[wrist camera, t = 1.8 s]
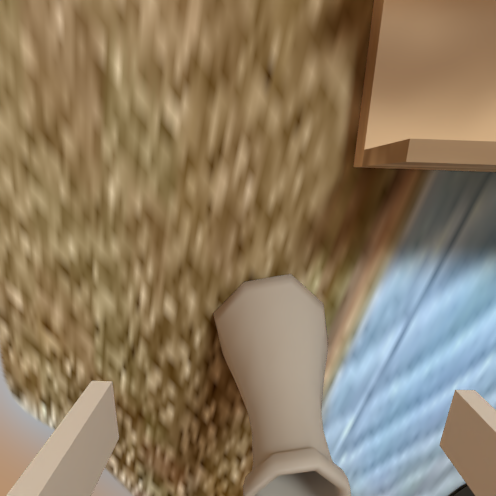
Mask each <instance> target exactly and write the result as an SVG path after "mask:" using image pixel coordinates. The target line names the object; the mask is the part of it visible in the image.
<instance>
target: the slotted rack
mask: <svg viewBox="0 0 496 496" xmlns="http://www.w3.org/2000/svg"><path fill="white" fill-rule="evenodd" d="M353 167H361V168H390V169H420V170H449V171H478V172H496V0H374V5H373V13H372V21H371V29H370V37H369V45H368V53H367V62H366V70H365V78H364V86H363V94H362V102H361V110H360V118H359V126H358V134H357V142H356V150H355V158H354V166H353Z"/></svg>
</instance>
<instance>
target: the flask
mask: <svg viewBox="0 0 496 496" xmlns="http://www.w3.org/2000/svg"><path fill="white" fill-rule="evenodd" d="M213 315H214V319H215V323H216V328H217V332H218V336H219V340H220V345H221V349H222V353H223V355H224V358H225V360H226V362H227V365H228V367H229V369H230V371H231V373H232V375H233V377H234V380H235V382H236V384H237V387H238V389H239V392H240V394H241V397H242V399H243V402H244V404H245V407H246V409H247V412H248V414H249V419H250V424H251V429H252V444H253V468H252V471H251V472H250V473H249V474H248V475H247V476H246V477H245V481H244V485H243V494H244V496H351V492H350V485H349V482H348V478H347V477H346V475H345V473H344V471H343V470H342V469H341V468H340V467H338V466H337V465H336V464H334V463H333V461H332V459H331V456H330V453H329V449H328V446H327V442H326V439H325V435H324V431H323V423H322V414H321V407H322V395H323V383H324V372H325V366H326V359H327V352H328V337H327V329H326V321H325V313H324V305H323V303H322V302H321V301H320V300H319V299H318V298H317V297H316V296H314V295H313V294H312V293H311V292H310V291H309V290H308V289H307V288H306V287H304V286H303V285H302V284H301V283H300V282H299V281H298V280H297V279H296V278H295V277H293V276H292V275H291V274H287V275H282V276H276V277H270V278H264V279H258V280H252V281H247V282H243V283H242V284H241V286H240V287H239V288H238V289H237V290H236V291H235V292H234V293H233V294H232V295H231V296H230V297H229V298H228V299H227V300H226V301H225V302H224V303H223V304H222V305H221V306H220V307H219V308H218V309H217V310H216V311H215V312H214V313H213Z"/></svg>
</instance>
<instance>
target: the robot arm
mask: <svg viewBox="0 0 496 496" xmlns="http://www.w3.org/2000/svg"><path fill="white" fill-rule="evenodd" d="M118 439H119V434H118V426H117V418H116V410H115V401H114V393H113V385H112V381H91V383H90V384H89V385H88V387H87V388H86V389H85V391H84V392H83V393H82V395H81V396H80V397H79V399H78V400H77V401H76V403H75V404H74V405H73V407H72V408H71V410H70V411H69V412H68V414H67V415H66V416H65V418H64V419H63V420H62V422H61V423H60V424H59V426H58V427H57V428H56V430H55V431H54V432H53V434H52V435H51V436H50V438H49V439H48V440H47V442H46V443H45V444H44V446H43V447H42V448H41V450H40V451H39V452H38V454H37V455H36V457H35V458H34V459H33V460H32V462H31V463H30V464H29V466H28V467H27V469H26V470H25V471H24V473H23V474H22V475H21V477H20V478H19V479H18V481H17V482H16V483H15V485H14V486H13V487H12V489H11V490H10V491H9V493H8V494H7V495H6V496H91V495H92V493H93V491H94V488H95V487H96V484H97V482H98V480H99V478H100V476H101V474H102V472H103V470H104V468H105V466H106V464H107V462H108V460H109V458H110V456H111V453H112V451H113V449H114V447H115V445H116V443H117V441H118ZM440 447H441V448H442V449H443V451H444V452H445V454H446V455H447V456H448V458H449V459H450V461H451V462H452V464H453V465H454V466H455V468H456V469H457V471H458V472H459V473H460V475H461V476H462V478H463V479H464V481H465V482H466V483H467V485H468V486H466V487H465V488H463V489H462V490H460V491H459V492H458V493H456V494H455V495H454V496H496V410H495V409H494V408H493V407H492V406H491V405H490V404H489V403H488V402H487V401H486V400H485V399H483V398H482V397H481V396H480V395H479V394H478V393H477V392H476V391H475V390H455V393H454V396H453V400H452V403H451V407H450V410H449V414H448V417H447V421H446V424H445V428H444V431H443V435H442V438H441V442H440Z"/></svg>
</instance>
